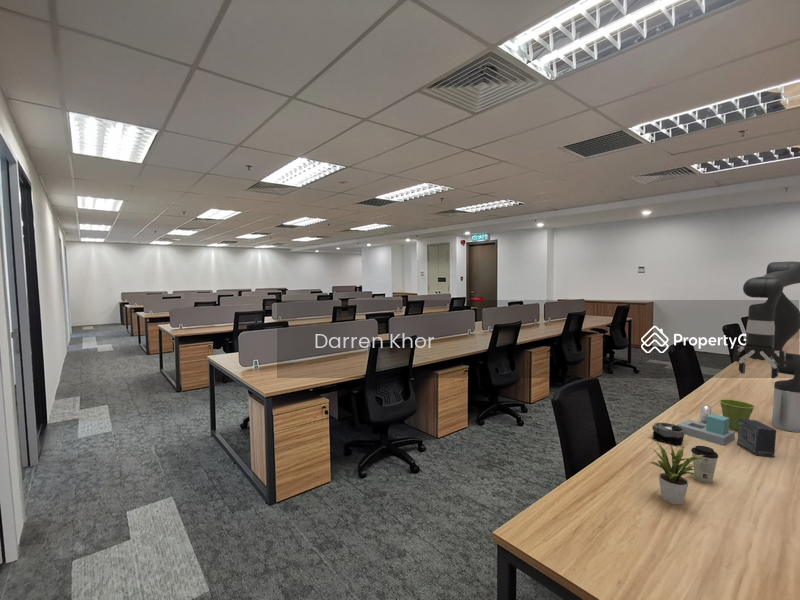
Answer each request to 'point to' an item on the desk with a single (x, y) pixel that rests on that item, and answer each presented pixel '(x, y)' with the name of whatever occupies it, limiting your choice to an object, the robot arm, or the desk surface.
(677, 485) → the house plant
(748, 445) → the small box
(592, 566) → the desk surface
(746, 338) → the robot arm
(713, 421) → the teal cube
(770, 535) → the desk surface
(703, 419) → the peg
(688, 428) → the peg board
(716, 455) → the coffee cup
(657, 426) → the cpu cooler
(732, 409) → the plant pot
